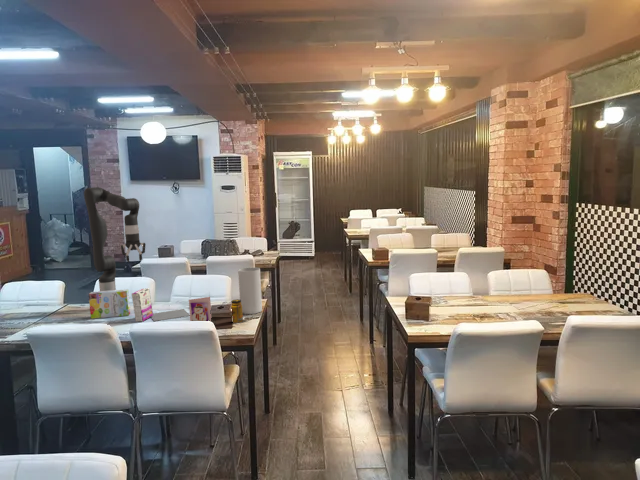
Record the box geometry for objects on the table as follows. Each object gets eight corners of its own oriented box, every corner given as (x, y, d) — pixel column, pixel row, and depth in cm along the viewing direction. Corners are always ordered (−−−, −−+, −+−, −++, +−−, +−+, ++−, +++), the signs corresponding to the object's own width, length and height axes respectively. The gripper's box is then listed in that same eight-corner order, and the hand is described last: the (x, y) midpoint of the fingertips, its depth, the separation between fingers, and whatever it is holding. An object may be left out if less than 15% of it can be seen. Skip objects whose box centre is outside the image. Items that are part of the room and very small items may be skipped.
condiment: (228, 322, 273) (227, 300, 272) (240, 318, 280) (239, 297, 278) (237, 324, 269) (236, 302, 267) (249, 320, 275) (248, 299, 274)
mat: (154, 321, 280) (154, 320, 280) (149, 314, 295) (149, 314, 295) (190, 315, 289) (190, 315, 289) (183, 309, 304) (183, 308, 304)
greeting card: (189, 327, 265) (188, 300, 264) (195, 323, 273) (193, 296, 271) (210, 328, 264) (208, 300, 262) (215, 323, 271) (213, 296, 269)
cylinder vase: (240, 315, 287) (238, 272, 284) (240, 309, 299) (238, 268, 296) (262, 313, 289) (260, 270, 286) (261, 308, 301) (259, 267, 298)
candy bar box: (145, 315, 292) (141, 288, 290) (153, 315, 291) (149, 288, 288) (134, 321, 281) (131, 293, 279) (143, 321, 280) (139, 293, 278)
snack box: (130, 313, 300) (128, 288, 298) (128, 316, 294) (126, 290, 293) (93, 316, 296) (90, 291, 295) (90, 319, 291) (88, 293, 289)
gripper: (143, 231, 299) (146, 259, 301) (118, 233, 293) (120, 261, 295) (145, 232, 293) (148, 260, 295) (119, 234, 286) (122, 263, 288)
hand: (134, 261), depth 295 cm, fingers open, 6 cm apart
